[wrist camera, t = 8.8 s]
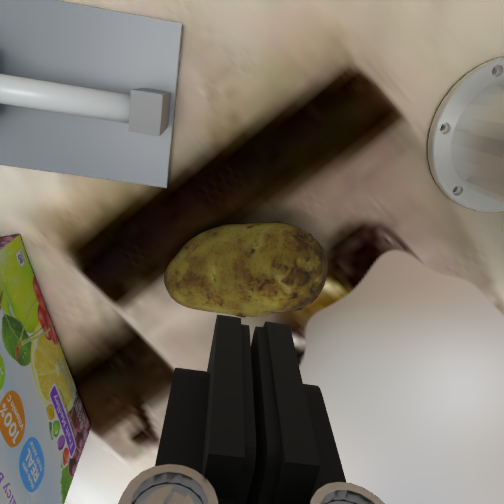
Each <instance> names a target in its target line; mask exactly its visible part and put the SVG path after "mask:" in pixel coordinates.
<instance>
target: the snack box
mask: <svg viewBox="0 0 504 504" xmlns="http://www.w3.org/2000/svg"><path fill="white" fill-rule="evenodd" d="M89 430H90V423H89V420H88V418H87V415H86V413H85V410H84V407H83V405H82V402H81V400H80V397H79V395H78V392H77V389H76V386H75V384H74V381H73V378H72V376H71V373H70V370H69V368H68V365H67V363H66V360H65V357H64V354H63V352H62V349H61V346H60V344H59V341H58V338H57V336H56V333H55V330H54V327H53V325H52V322H51V319H50V317H49V314H48V311H47V309H46V306H45V303H44V301H43V298H42V295H41V292H40V290H39V287H38V284H37V282H36V279H35V276H34V274H33V271H32V268H31V265H30V263H29V260H28V257H27V255H26V252H25V249H24V246H23V243H22V240H21V236H20V235H19V234H16V235H10V236H5V237H0V504H64V502H65V499H66V496H67V493H68V490H69V488H70V485H71V482H72V479H73V476H74V473H75V471H76V468H77V464H78V462H79V459H80V456H81V454H82V451H83V448H84V445H85V442H86V439H87V437H88V434H89Z"/></svg>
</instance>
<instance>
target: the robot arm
mask: <svg viewBox="0 0 504 504" xmlns="http://www.w3.org/2000/svg"><path fill="white" fill-rule="evenodd" d="M493 69H494V72H493V73H492V70H493ZM441 125H443V128H442V129H441V130H440V127H441ZM428 161H429V165H430V170H431V173H432V175H433V177H434V180H435V182H436V184H437V185H438V186H439V188H440V189H441V190H442V192H443V193H444V194H445V195H447V196H448V197H449V198H450V199H451V200H453V201H454V202H456V203H458V204H460V205H462V206H463V207H466V208H469V209H472V210H474V211H481V212H502V211H504V57H501V58H497V59H493V60H491V61H489V62H486V63H484V64H482V65H480V66H478V67H476V68H475V69H473V70H472V71H471V72H469V73H468V74H466V75H465V76H464V77H463V78H462V79H461V80H460V81H458V82H457V83H456V84H455V85H454V86H453V87H452V89H451V90H450V91H449V93H448V94H447V95H446V97H445V98H444V99H443V101H442V103H441V104H440V106H439V108H438V110H437V112H436V114H435V116H434V119H433V122H432V125H431V128H430V133H429V139H428ZM454 187H455V189H454ZM453 189H454V190H453ZM118 504H384V503H383V502H382V501H381V500H380V499H379V498H378V497H377V496H376V495H374V494H373V493H371V492H370V491H368V490H366V489H365V488H363V487H360V486H357V485H354V484H352V483H346V479H345V476H344V472H343V469H342V465H341V461H340V458H339V454H338V451H337V447H336V443H335V440H334V436H333V432H332V429H331V425H330V422H329V418H328V414H327V411H326V407H325V404H324V400H323V396H322V393H321V390H320V388H319V387H318V386H315V385H307V384H303V383H302V378H301V374H300V370H299V365H298V361H297V356H296V352H295V347H294V343H293V338H292V334H291V329H290V326H289V325H287V324H279V323H272V322H265V324H264V326H263V327H255V330H254V334H253V339H252V344H251V346H250V330H249V325H242V324H241V318H237V317H230V316H223V315H217V318H216V324H215V329H214V335H213V341H212V346H211V352H210V358H209V363H208V369H207V372H205V371H197V370H190V369H182V368H175V371H174V375H173V380H172V385H171V390H170V395H169V400H168V405H167V410H166V415H165V420H164V425H163V429H162V434H161V439H160V444H159V449H158V454H157V459H156V464H155V466H154V467H152V468H150V469H147V470H145V471H143V472H141V473H140V474H139V475H138V476H136V477H135V478H134V479H133V480H132V481H131V482H130V483H129V485H128V486H127V488H126V489H125V491H124V492H123V494H122V496H121V499H120V501H119V503H118Z"/></svg>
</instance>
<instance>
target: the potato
mask: <svg viewBox="0 0 504 504" xmlns="http://www.w3.org/2000/svg"><path fill="white" fill-rule="evenodd" d="M327 270H328V262H327V256H326V253H325V251H324V249H323V248H322V246H321V245H320V244H319V242H318V241H317V240H316V239H314V238H313V236H312V235H311V234H309V233H307V232H305V231H304V230H302V229H300V228H297V227H295V226H292V225H288V224H284V223H280V222H261V223H250V224H227V225H222V226H219V227H216V228H213V229H210V230H207V231H205V232H203V233H201V234H199V235H197V236H195V237H194V238H192V239H191V240H189V241H188V242H187V243H186V244H185V245H184V246H183V247H182V249H181V250H180V251H179V252H178V253H177V255H176V256H175V257H174V258H173V259H172V260H171V261H170V263H169V265H168V266H167V269H166V271H165V274H164V283H165V286H166V289H167V291H168V292H169V294H170V296H171V297H172V298H173V299H174V300H175V301H176V302H177V303H179V304H181V305H183V306H185V307H188V308H192V309H197V310H203V311H209V312H217V313H225V314H232V315H236V316H240V317H246V316H249V317H257V316H263V315H267V314H271V313H274V312H286V311H296V310H301V309H302V308H303V307H305V306H307V305H309V304H311V303H313V301H314V300H315V299H316V298H317V297H318V295H319V294H320V292H321V291H322V289H323V286H324V284H325V281H326V277H327Z"/></svg>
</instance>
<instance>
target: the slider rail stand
mask: <svg viewBox="0 0 504 504" xmlns="http://www.w3.org/2000/svg"><path fill="white" fill-rule="evenodd" d="M182 30H183V25H182V23H177V22H172V21H166V20H161V19H156V18H150V17H145V16H139V15H134V14H129V13H123V12H118V11H113V10H107V9H102V8H96V7H91V6H86V5H80V4H75V3H69V2H64V1H59V0H0V165H6V166H13V167H20V168H27V169H34V170H42V171H49V172H56V173H63V174H70V175H78V176H85V177H92V178H99V179H107V180H114V181H121V182H128V183H135V184H143V185H150V186H157V187H164V188H167V186H168V179H169V169H170V158H171V147H172V137H173V126H174V115H175V105H176V94H177V83H178V72H179V62H180V51H181V40H182Z"/></svg>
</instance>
